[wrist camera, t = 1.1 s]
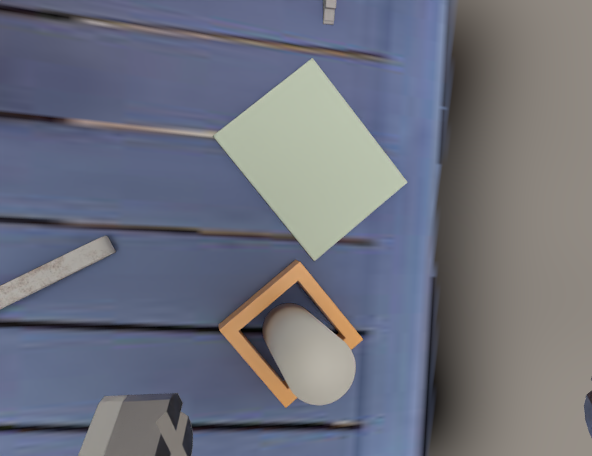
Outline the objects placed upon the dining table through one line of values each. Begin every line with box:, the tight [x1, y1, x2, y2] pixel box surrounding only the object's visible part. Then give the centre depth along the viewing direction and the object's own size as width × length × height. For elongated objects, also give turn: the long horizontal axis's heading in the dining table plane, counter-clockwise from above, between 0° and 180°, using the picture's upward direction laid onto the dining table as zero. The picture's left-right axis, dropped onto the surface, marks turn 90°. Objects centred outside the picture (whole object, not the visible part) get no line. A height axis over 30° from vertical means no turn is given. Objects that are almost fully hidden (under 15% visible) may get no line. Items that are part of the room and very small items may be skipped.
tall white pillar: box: [262, 303, 356, 405], centre depth 44 cm, size 5×5×14 cm
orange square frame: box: [219, 260, 363, 408], centre depth 49 cm, size 9×9×2 cm
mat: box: [213, 58, 407, 261], centre depth 51 cm, size 15×12×1 cm
